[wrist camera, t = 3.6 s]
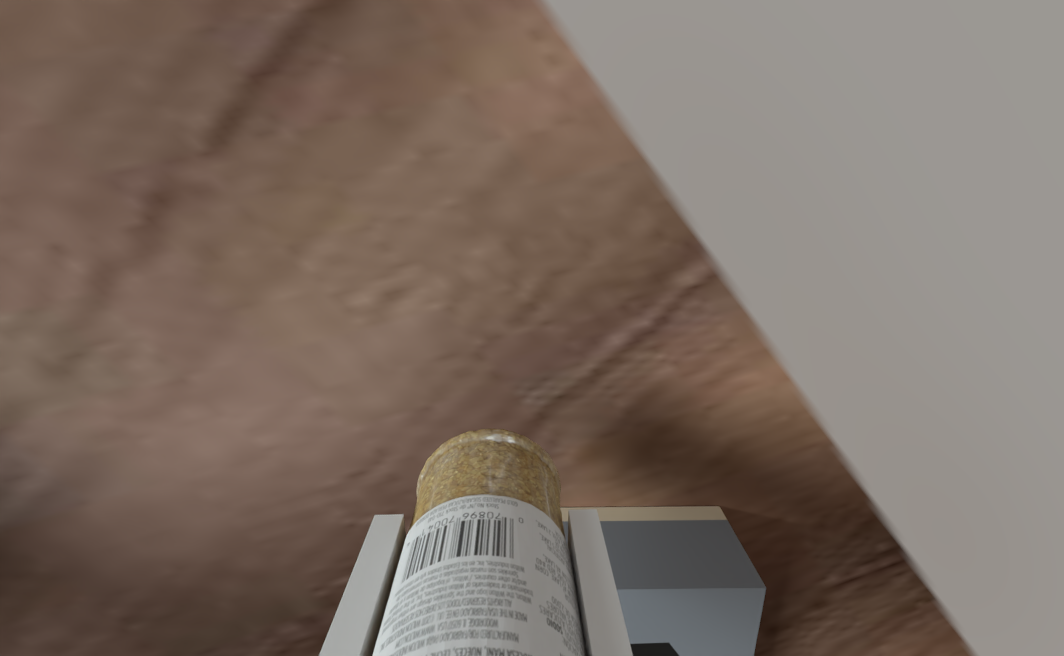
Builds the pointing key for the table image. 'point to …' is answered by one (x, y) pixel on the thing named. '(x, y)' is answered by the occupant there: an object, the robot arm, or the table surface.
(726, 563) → the socket block
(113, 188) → the table surface
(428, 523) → the sprinkles bottle
